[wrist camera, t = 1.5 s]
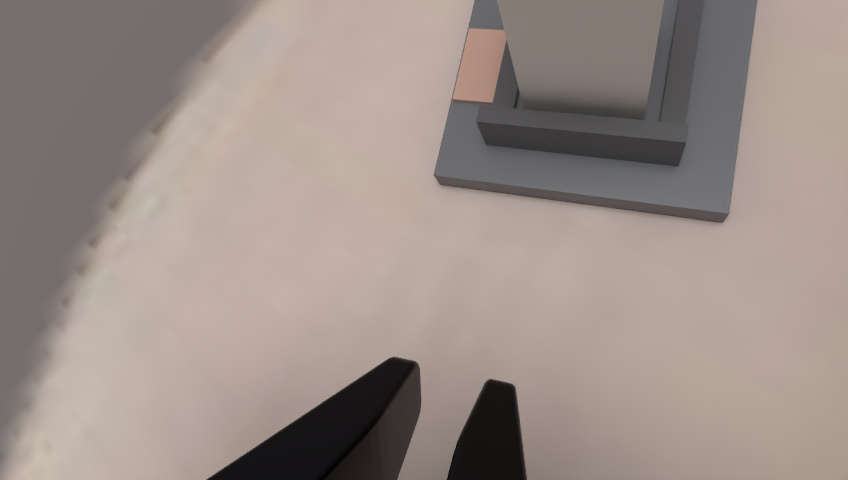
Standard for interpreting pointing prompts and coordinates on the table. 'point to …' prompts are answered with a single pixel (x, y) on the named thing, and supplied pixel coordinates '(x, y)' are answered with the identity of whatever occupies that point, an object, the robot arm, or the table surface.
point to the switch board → (609, 121)
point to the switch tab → (583, 54)
